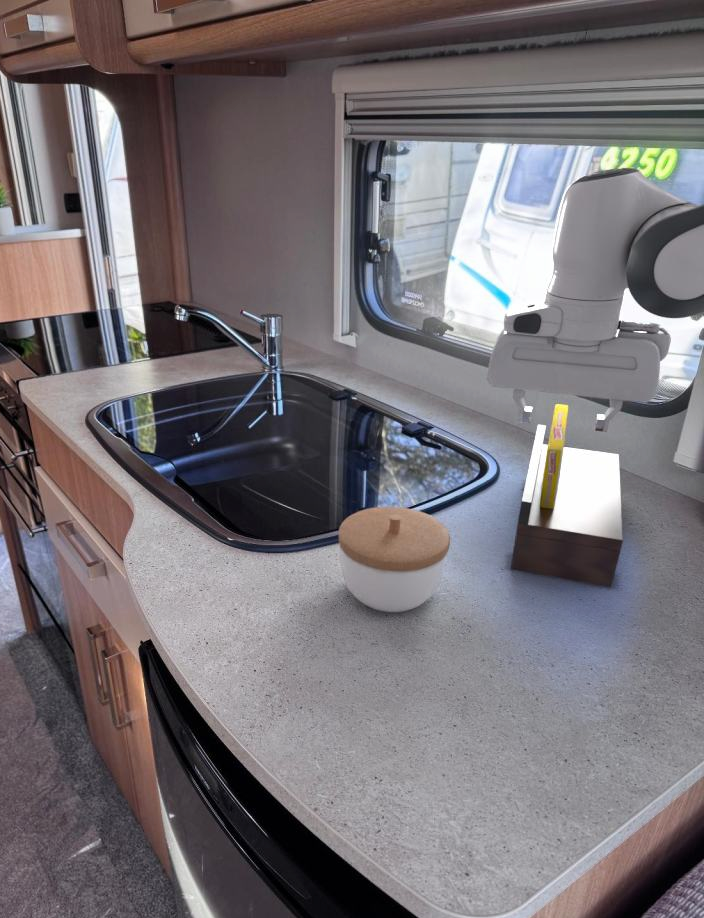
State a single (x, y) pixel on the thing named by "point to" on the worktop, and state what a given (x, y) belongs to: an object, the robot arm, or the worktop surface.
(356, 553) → the lidded bowl
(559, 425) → the candy box
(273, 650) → the worktop surface
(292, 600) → the worktop surface
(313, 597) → the worktop surface
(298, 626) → the worktop surface
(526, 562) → the box with raised back
